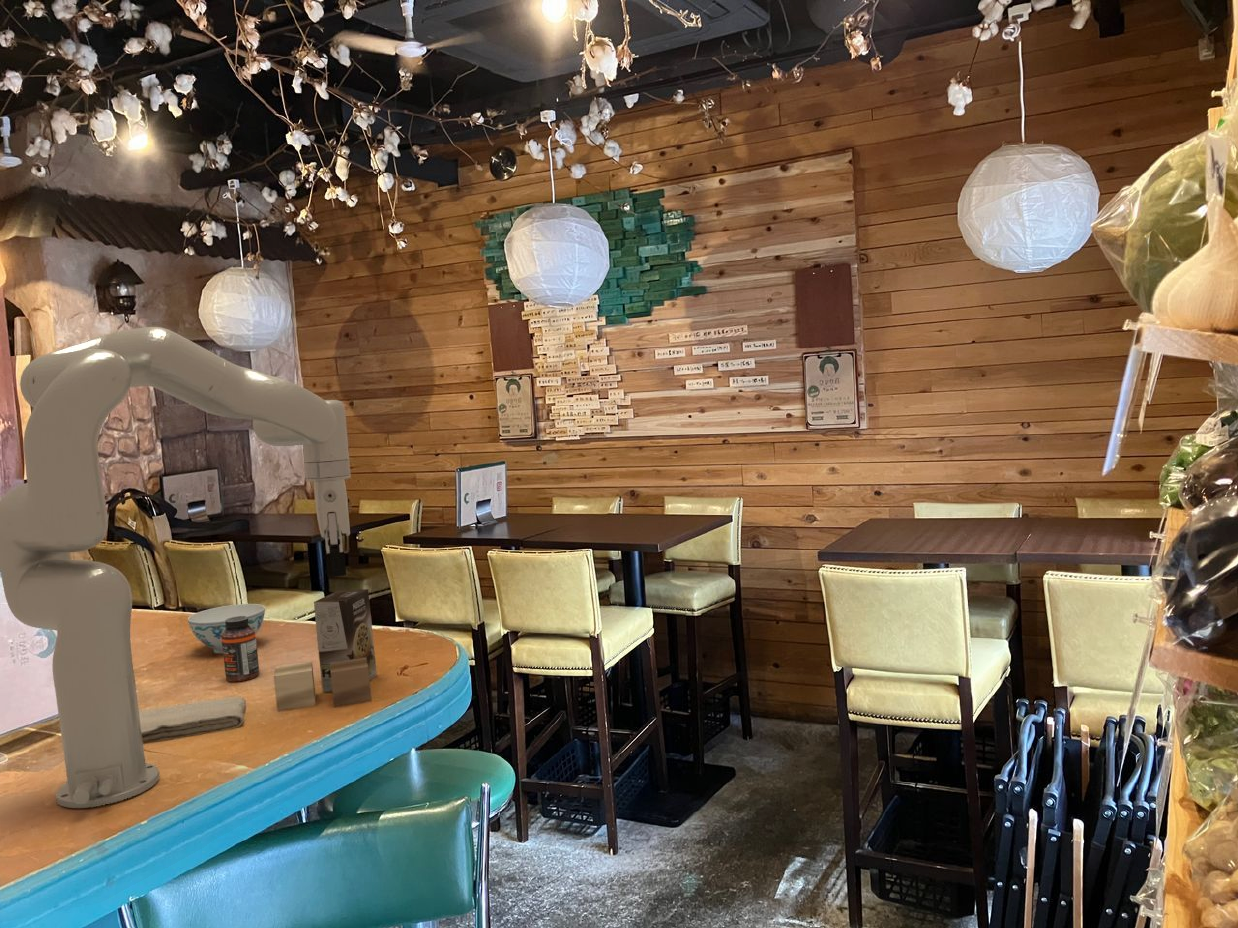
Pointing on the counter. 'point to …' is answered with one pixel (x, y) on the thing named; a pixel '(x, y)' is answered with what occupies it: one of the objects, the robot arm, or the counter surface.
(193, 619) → the chinaware
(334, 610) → the coffee box
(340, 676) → the walnut cube
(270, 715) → the counter surface
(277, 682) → the beech cube
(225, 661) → the supplement bottle
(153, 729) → the washcloth
